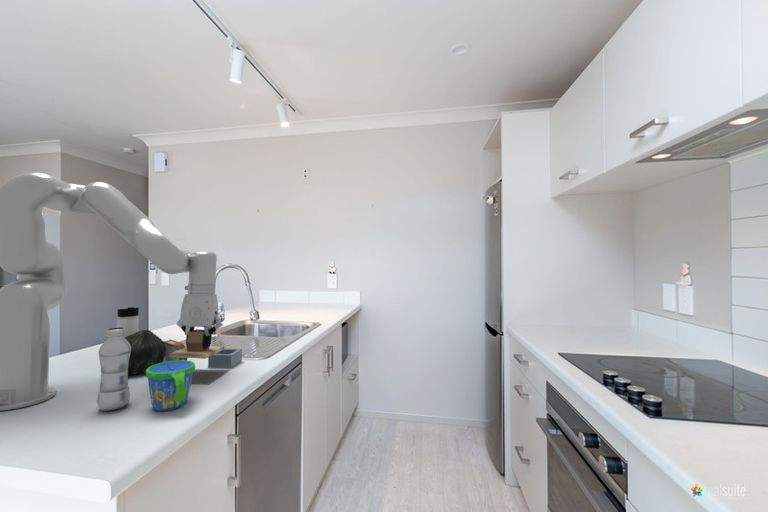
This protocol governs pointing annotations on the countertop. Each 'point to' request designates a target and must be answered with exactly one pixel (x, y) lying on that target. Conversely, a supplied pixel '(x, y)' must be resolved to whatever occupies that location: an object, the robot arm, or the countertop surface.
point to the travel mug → (128, 320)
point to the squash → (144, 351)
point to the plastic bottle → (114, 370)
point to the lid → (196, 347)
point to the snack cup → (169, 384)
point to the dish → (225, 359)
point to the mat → (206, 376)
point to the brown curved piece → (172, 350)
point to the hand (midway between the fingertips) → (198, 346)
